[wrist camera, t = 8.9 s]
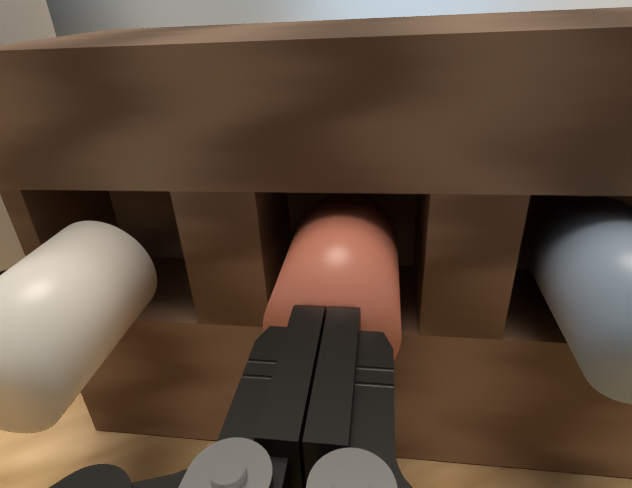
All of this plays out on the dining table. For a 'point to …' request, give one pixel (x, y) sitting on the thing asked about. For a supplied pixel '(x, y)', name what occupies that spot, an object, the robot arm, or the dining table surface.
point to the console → (334, 179)
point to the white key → (66, 318)
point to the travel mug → (4, 28)
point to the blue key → (589, 286)
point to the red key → (342, 265)
